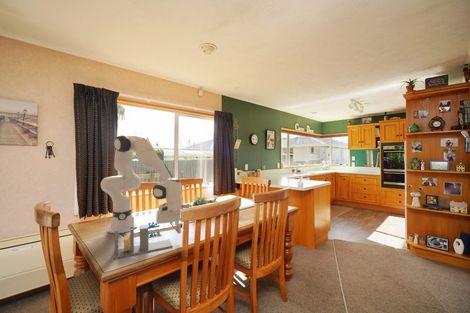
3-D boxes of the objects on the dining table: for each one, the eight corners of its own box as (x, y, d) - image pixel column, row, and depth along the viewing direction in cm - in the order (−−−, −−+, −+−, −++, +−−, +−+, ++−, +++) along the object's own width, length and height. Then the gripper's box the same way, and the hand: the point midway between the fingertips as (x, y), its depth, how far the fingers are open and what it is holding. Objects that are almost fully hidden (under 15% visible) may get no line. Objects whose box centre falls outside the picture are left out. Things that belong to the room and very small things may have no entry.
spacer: (124, 246, 119) (123, 235, 119) (129, 245, 120) (129, 234, 120) (124, 251, 113) (123, 239, 113) (130, 250, 115) (130, 238, 115)
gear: (142, 235, 137) (145, 221, 144) (142, 239, 141) (145, 225, 148) (160, 236, 140) (162, 222, 147) (160, 239, 144) (162, 226, 151)
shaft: (131, 236, 121) (131, 226, 121) (180, 228, 134) (180, 219, 134) (132, 242, 114) (131, 231, 114) (183, 232, 127) (183, 223, 127)
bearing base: (114, 251, 118) (114, 226, 118) (169, 240, 132) (169, 218, 132) (113, 259, 109) (113, 232, 109) (172, 247, 124) (172, 223, 123)
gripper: (189, 202, 133) (190, 224, 133) (155, 206, 123) (155, 229, 124) (192, 204, 127) (192, 227, 128) (157, 208, 118) (157, 233, 118)
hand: (174, 228), depth 126 cm, fingers closed
